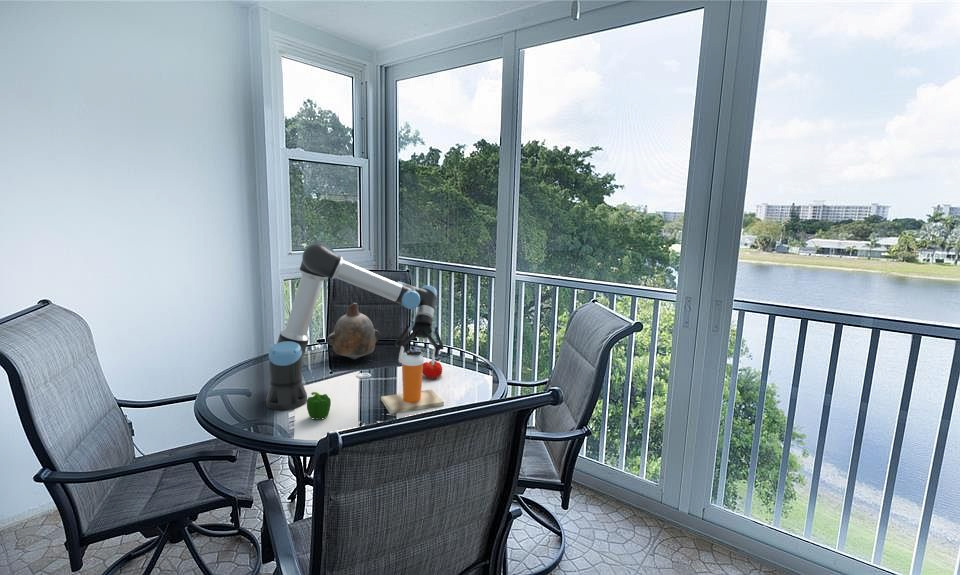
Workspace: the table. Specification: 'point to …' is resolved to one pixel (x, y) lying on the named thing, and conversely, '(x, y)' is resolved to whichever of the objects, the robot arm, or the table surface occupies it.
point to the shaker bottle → (412, 375)
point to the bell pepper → (318, 405)
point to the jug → (353, 334)
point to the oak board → (399, 405)
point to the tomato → (432, 369)
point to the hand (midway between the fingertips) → (416, 362)
